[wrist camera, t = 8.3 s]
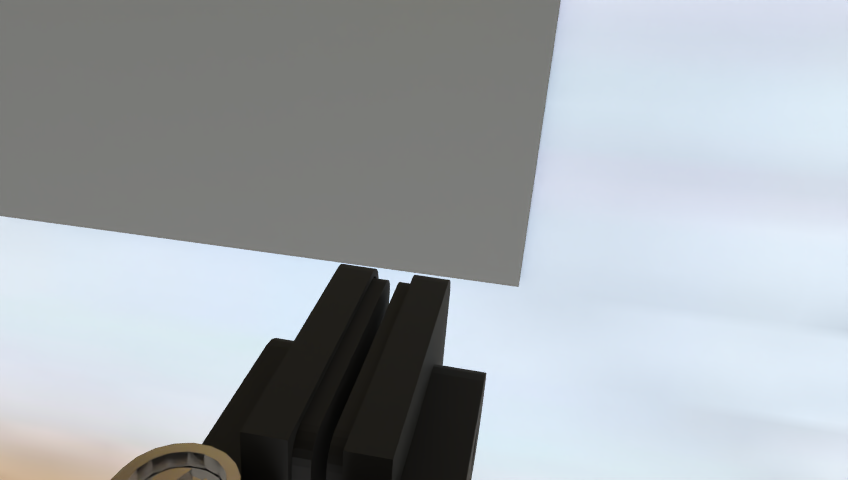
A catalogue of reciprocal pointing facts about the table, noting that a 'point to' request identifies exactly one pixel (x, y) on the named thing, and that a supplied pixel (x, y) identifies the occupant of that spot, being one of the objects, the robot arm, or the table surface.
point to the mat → (283, 125)
